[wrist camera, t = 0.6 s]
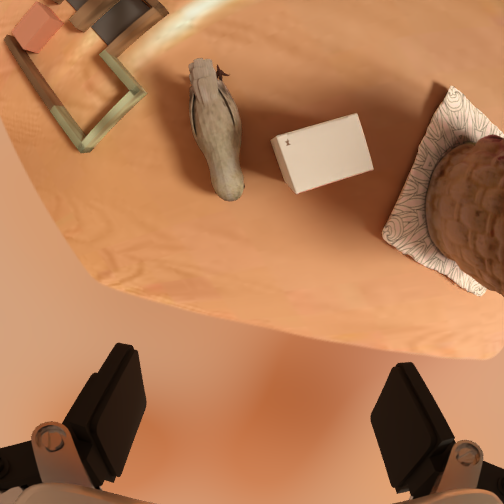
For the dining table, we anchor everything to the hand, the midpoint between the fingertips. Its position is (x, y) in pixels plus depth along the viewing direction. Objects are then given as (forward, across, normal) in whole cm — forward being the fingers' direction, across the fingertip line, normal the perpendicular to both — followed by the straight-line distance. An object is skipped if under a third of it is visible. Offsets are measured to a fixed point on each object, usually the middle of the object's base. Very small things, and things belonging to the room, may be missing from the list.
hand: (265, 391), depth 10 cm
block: (+30, +36, -28) cm, 54 cm away
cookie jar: (+30, -30, -6) cm, 43 cm away
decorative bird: (+30, +6, -9) cm, 32 cm away
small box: (+30, -5, -8) cm, 31 cm away
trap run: (+29, +26, -24) cm, 46 cm away
